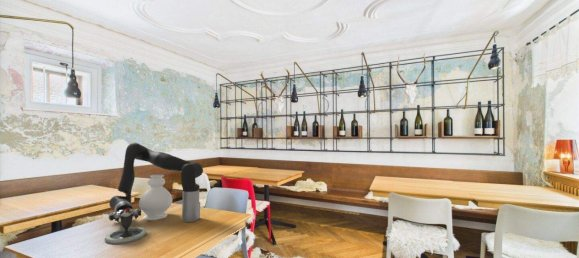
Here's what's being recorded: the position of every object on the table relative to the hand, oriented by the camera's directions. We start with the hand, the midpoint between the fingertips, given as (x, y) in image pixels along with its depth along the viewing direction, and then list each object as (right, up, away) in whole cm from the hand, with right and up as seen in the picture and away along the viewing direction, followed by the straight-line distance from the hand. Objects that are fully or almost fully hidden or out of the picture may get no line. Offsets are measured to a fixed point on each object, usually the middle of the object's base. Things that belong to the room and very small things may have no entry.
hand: (127, 218), depth 119 cm
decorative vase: (-3, -11, +31) cm, 33 cm away
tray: (-2, -10, +1) cm, 10 cm away
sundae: (-2, -9, +2) cm, 9 cm away
